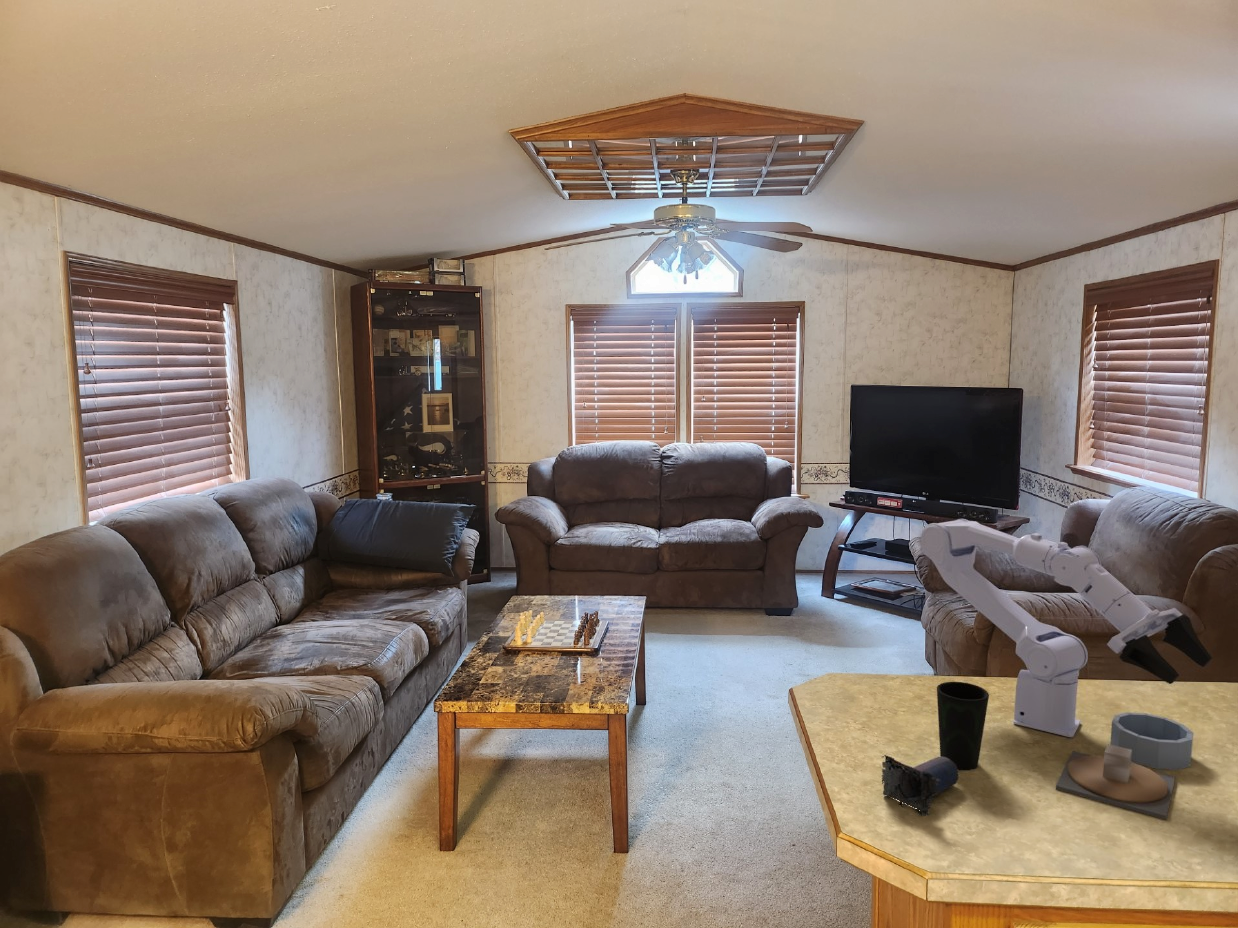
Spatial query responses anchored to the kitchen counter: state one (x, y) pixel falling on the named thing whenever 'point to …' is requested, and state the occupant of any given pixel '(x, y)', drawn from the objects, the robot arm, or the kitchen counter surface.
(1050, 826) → the kitchen counter surface
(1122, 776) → the lid
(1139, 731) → the bowl
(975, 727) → the cup
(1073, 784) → the mat
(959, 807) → the kitchen counter surface
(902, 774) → the dark blue flanged cylinder
